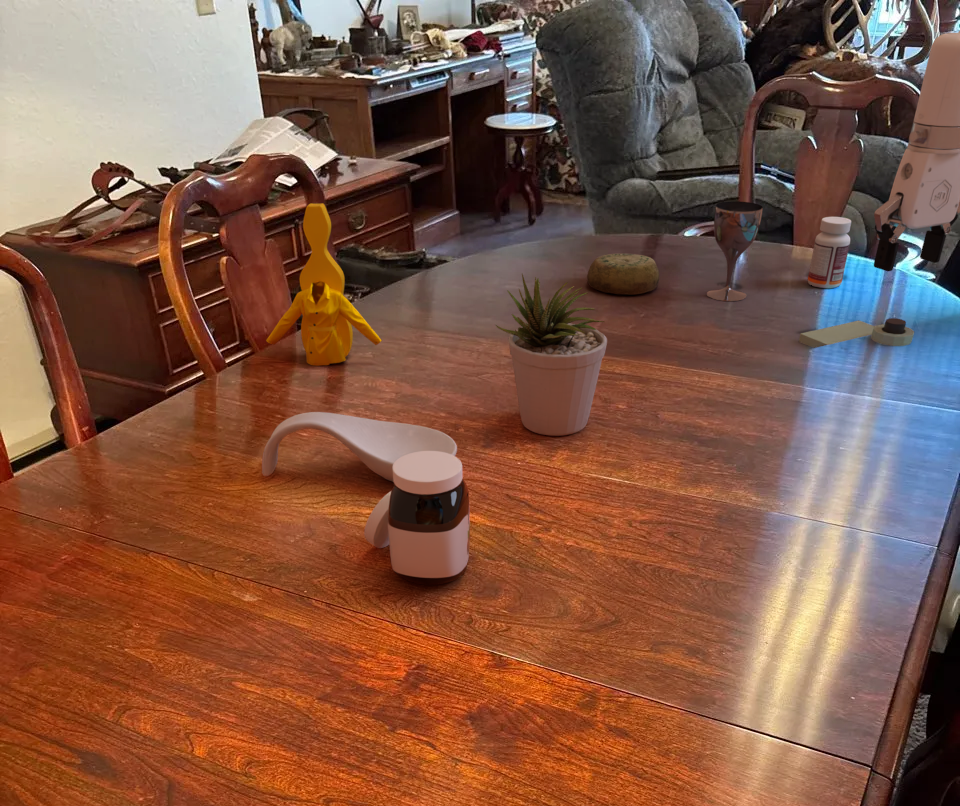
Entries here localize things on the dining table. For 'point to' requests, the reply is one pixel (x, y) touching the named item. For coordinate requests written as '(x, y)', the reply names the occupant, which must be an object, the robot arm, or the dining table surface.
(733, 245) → the wine glass
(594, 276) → the cheese wheel
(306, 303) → the figure statuette
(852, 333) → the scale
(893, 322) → the button
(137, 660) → the dining table surface
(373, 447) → the spoon rest
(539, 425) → the potted plant
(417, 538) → the spread jar
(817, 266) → the pill bottle
